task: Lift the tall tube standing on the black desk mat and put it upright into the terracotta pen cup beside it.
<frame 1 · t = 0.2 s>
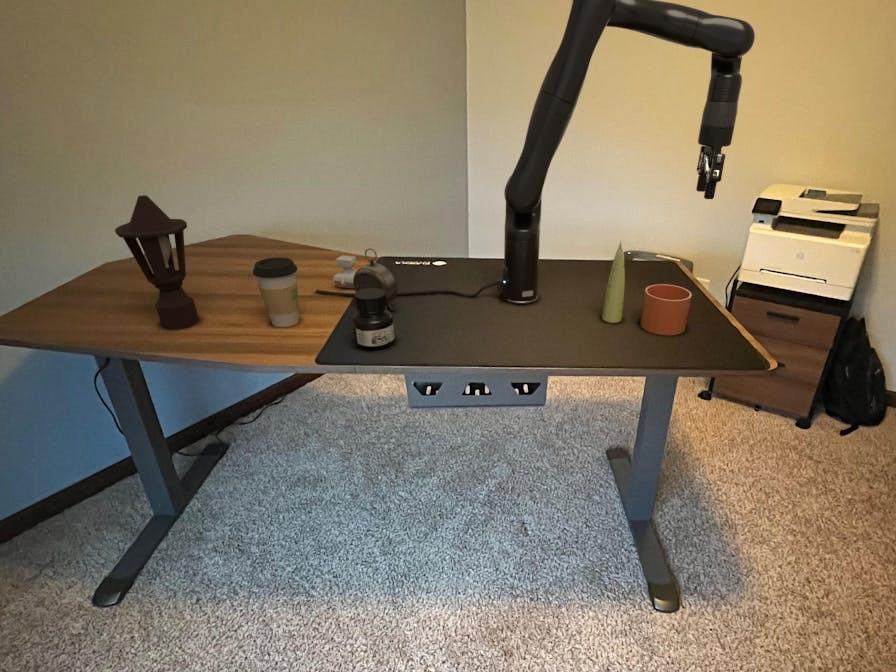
hand: (704, 195, 139), 29 cm above the table, tool pointing down, fingers open, 8 cm apart
lantern: (180, 323, 139), on the table
stamp: (350, 286, 162), on the table
coffee cup: (285, 322, 140), on the table
alarm clock: (376, 310, 148), on the table
ink bottle: (375, 343, 131), on the table
tube: (611, 320, 145), on the table
pen cup: (662, 326, 142), on the table
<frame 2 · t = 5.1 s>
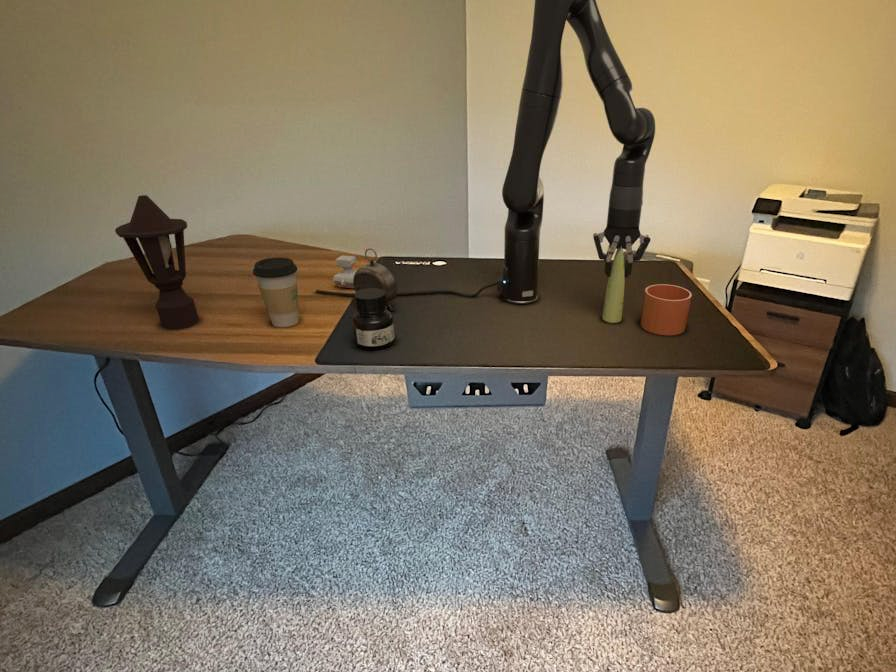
hand: (617, 275, 139), 12 cm above the table, tool pointing down, fingers closed on tube, 3 cm apart
tube: (611, 320, 145), on the table, touching gripper
everything else where it was.
when the fingers open (12 cm above the table, at t = 11.6 s): tube stays where it is, resting on pen cup.
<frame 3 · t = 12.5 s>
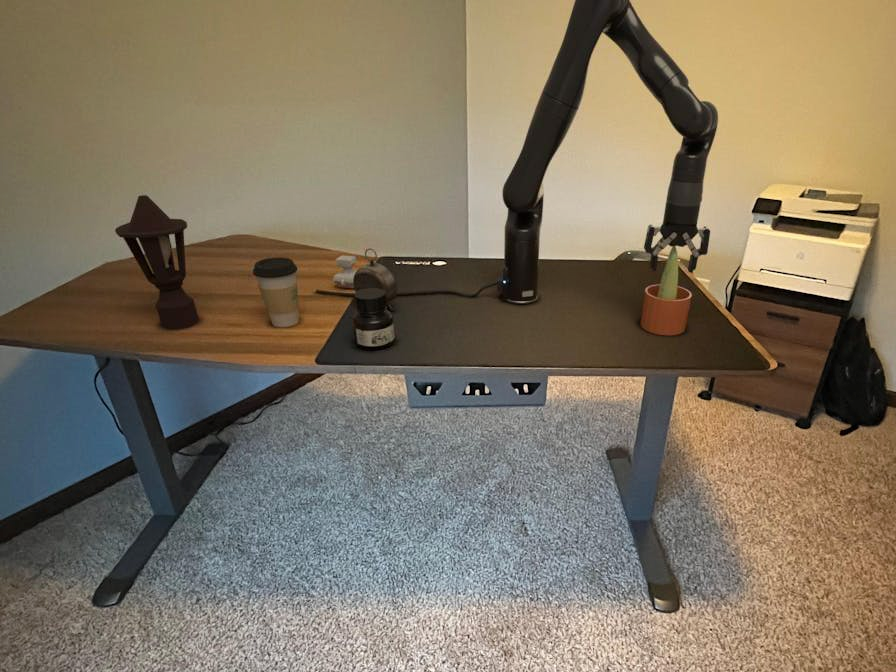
hand: (671, 270, 135), 14 cm above the table, tool pointing down, fingers open, 8 cm apart
tube: (661, 324, 142), resting on pen cup
everything else where it was.
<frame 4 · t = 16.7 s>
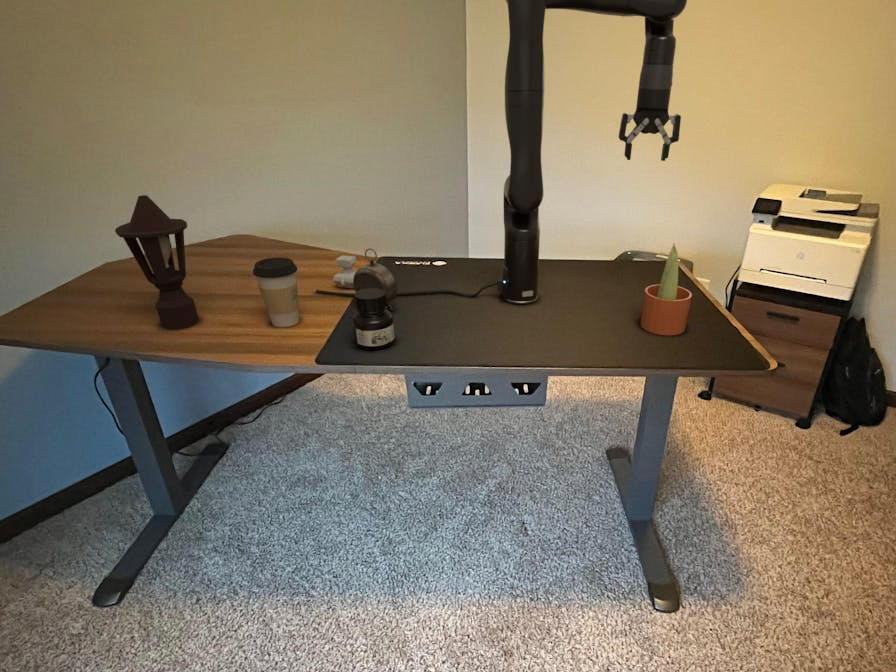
hand: (645, 159, 141), 36 cm above the table, tool pointing down, fingers open, 8 cm apart
nothing on the table moved.
at the end: tube 0.2 cm off-centre in the pen cup, point 0.4 cm above the pen cup's base; tube tilted 0°; the gripper is holding nothing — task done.
